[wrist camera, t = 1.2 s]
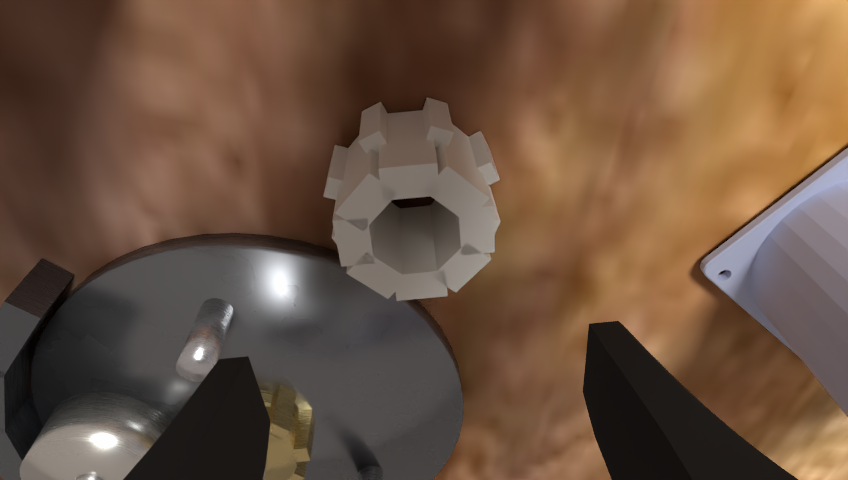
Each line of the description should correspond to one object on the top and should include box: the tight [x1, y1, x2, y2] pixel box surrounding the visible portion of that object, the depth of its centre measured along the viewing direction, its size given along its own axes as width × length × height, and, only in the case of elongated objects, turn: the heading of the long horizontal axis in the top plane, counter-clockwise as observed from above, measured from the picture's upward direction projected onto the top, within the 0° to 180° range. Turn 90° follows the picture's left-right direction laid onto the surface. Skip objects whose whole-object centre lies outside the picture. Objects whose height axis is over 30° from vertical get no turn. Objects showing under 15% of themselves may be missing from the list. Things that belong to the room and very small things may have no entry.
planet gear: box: [323, 97, 500, 301], centre depth 19 cm, size 5×6×4 cm
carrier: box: [0, 233, 463, 480], centre depth 25 cm, size 19×20×4 cm
